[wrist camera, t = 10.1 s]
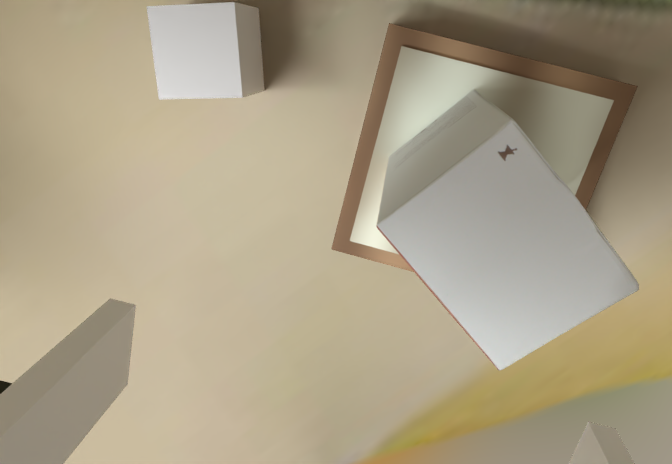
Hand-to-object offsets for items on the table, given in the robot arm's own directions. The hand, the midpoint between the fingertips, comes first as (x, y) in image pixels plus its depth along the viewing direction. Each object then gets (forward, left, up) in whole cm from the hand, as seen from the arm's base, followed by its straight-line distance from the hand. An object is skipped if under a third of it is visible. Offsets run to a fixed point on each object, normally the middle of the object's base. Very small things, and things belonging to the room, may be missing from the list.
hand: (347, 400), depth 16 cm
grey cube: (-12, +6, -23) cm, 27 cm away
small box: (+4, +4, -20) cm, 20 cm away
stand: (+4, +4, -23) cm, 23 cm away
